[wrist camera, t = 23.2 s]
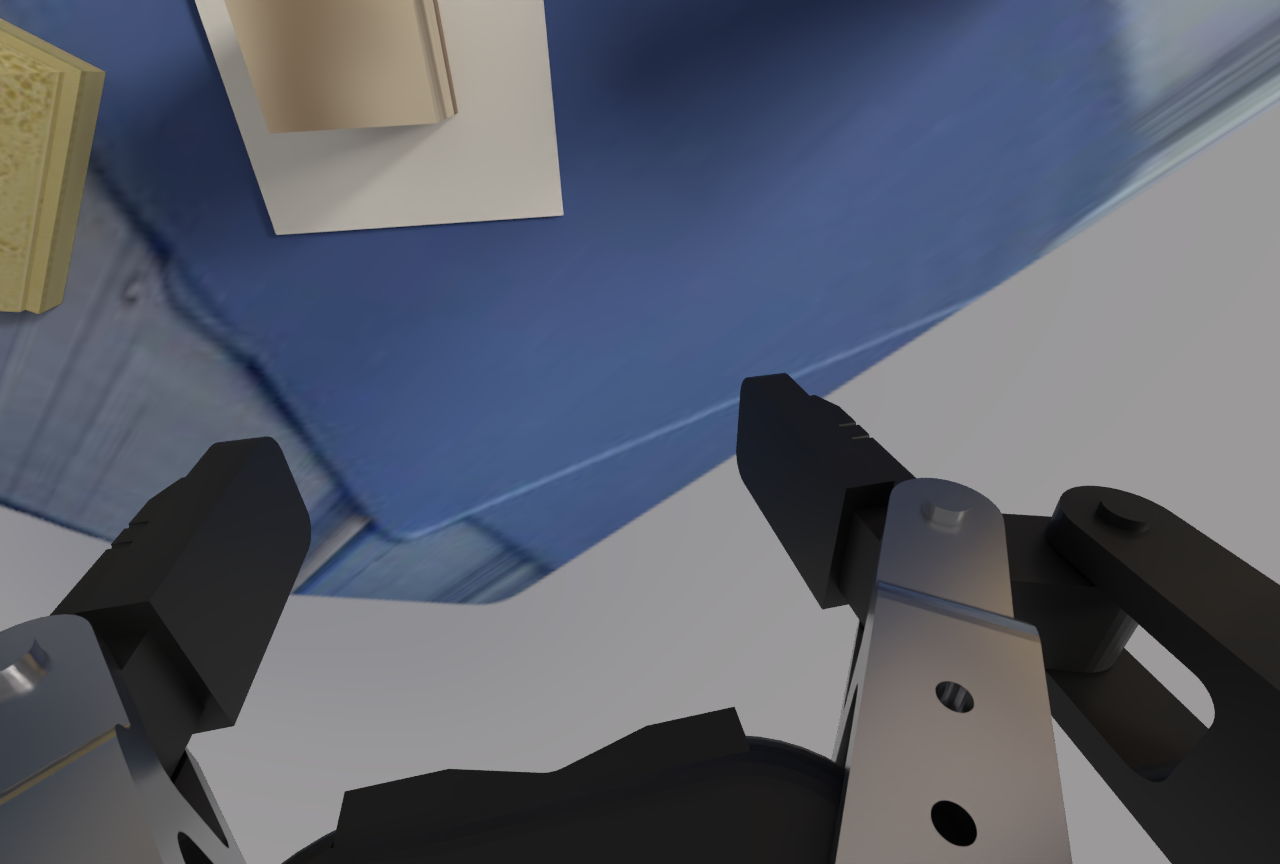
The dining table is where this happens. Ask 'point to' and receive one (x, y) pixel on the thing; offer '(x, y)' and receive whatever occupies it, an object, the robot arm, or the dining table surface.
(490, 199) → the off-white mat
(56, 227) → the seated figure statue
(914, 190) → the dining table surface
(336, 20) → the two-tone block
